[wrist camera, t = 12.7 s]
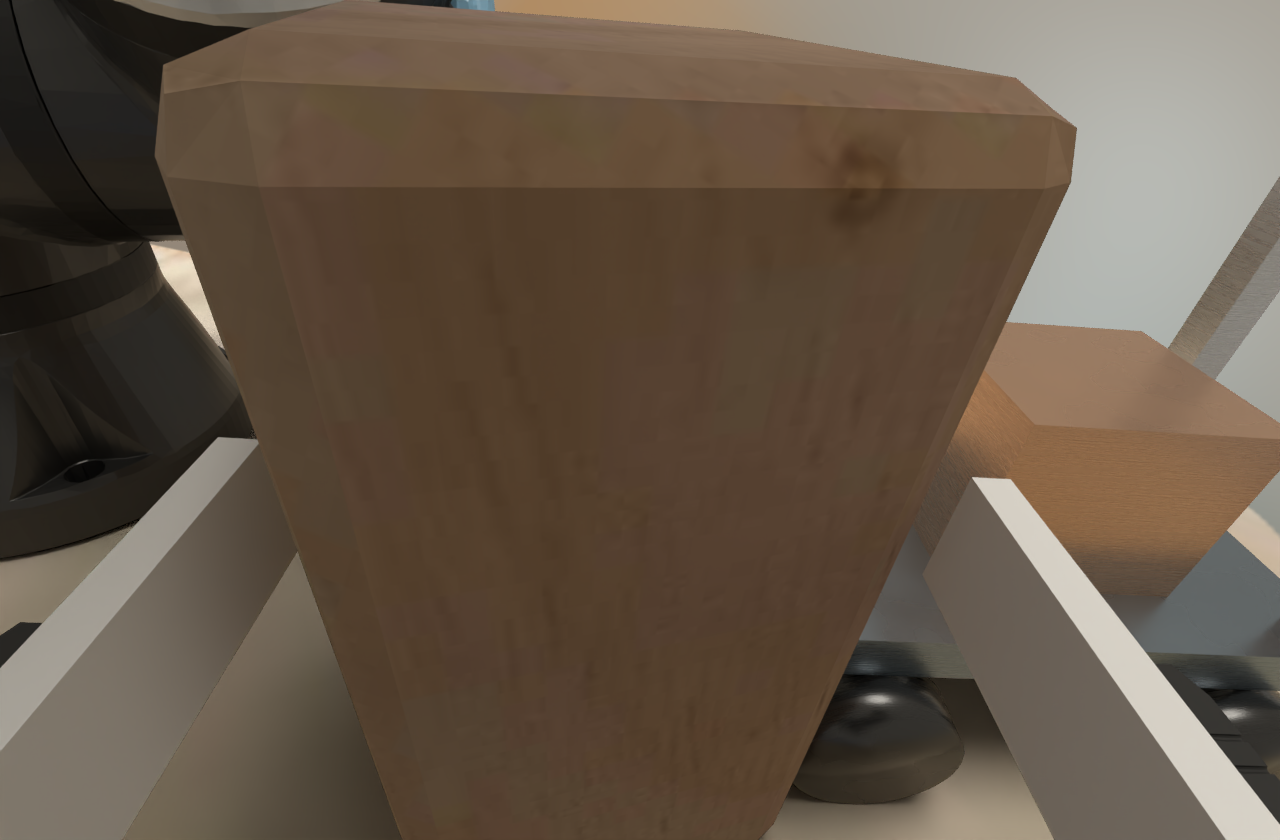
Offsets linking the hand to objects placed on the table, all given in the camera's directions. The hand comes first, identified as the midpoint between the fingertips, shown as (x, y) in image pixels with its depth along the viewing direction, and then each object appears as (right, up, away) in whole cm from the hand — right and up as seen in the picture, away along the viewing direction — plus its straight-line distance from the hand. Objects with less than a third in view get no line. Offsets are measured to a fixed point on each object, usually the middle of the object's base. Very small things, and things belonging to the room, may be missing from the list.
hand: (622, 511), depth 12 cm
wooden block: (-2, -9, +9) cm, 13 cm away
